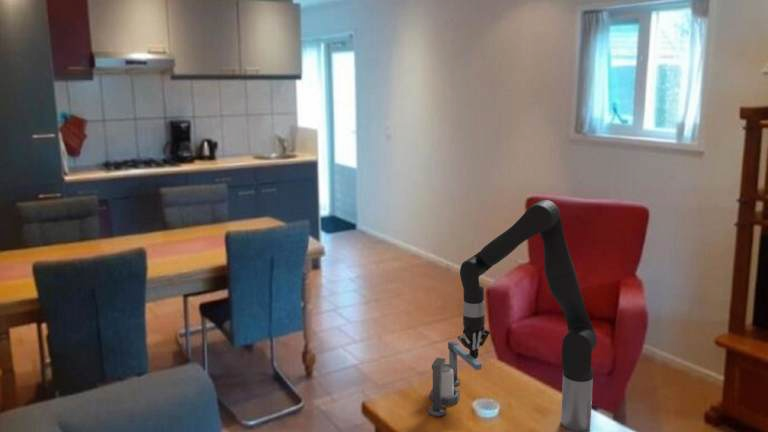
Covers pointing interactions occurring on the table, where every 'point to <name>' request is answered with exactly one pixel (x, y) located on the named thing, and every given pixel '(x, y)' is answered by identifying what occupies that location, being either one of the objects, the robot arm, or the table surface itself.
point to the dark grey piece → (437, 390)
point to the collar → (449, 400)
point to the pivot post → (454, 366)
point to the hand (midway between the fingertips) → (473, 358)
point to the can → (447, 381)
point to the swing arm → (464, 355)
